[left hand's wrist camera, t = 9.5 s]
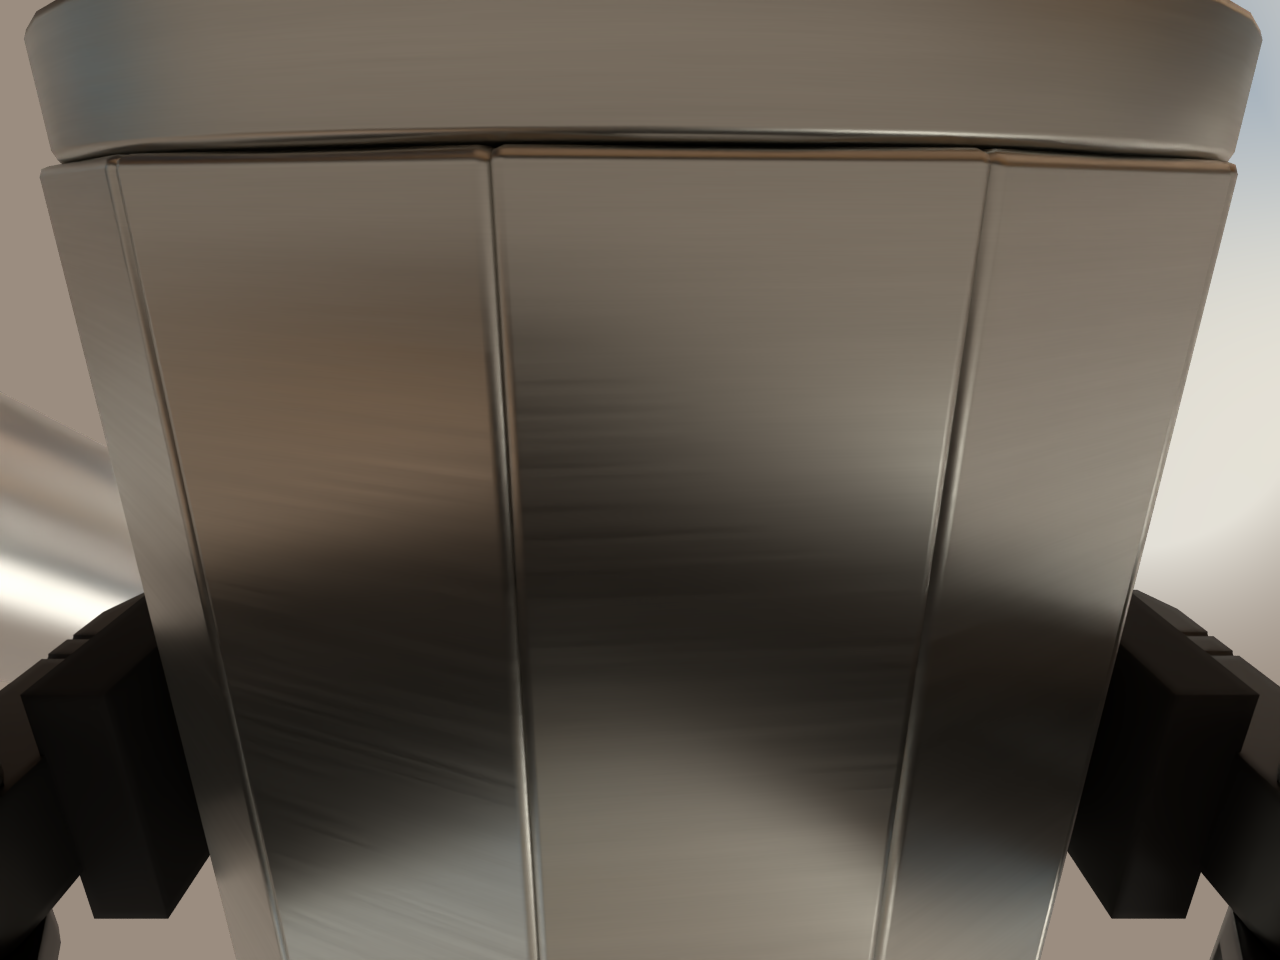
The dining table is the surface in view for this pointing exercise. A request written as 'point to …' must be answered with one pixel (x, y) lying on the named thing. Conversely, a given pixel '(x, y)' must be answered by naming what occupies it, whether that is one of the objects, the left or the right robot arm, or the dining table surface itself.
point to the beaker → (639, 445)
